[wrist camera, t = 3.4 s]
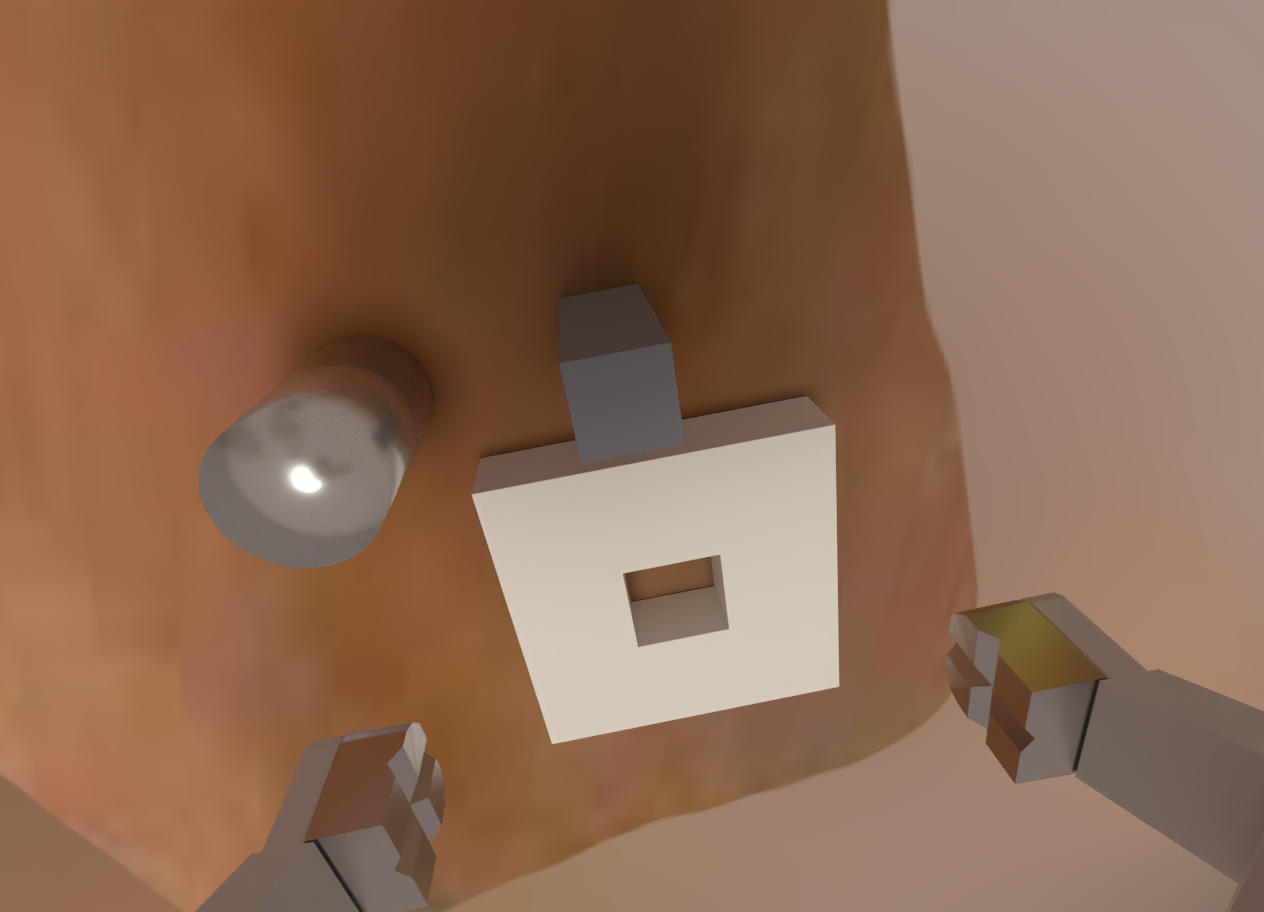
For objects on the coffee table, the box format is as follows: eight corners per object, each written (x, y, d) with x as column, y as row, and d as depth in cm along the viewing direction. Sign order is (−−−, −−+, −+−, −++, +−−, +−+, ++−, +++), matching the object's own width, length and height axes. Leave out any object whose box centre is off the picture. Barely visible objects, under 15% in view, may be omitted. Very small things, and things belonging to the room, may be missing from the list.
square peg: (558, 298, 27) (558, 363, 19) (638, 283, 27) (671, 342, 19) (574, 374, 29) (581, 463, 21) (649, 360, 29) (685, 443, 21)
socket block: (480, 458, 30) (471, 494, 27) (806, 395, 31) (835, 424, 27) (552, 694, 38) (552, 744, 34) (815, 641, 38) (839, 686, 35)
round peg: (281, 348, 27) (165, 436, 19) (410, 324, 27) (349, 400, 19) (330, 462, 30) (245, 581, 22) (448, 440, 30) (408, 550, 22)
